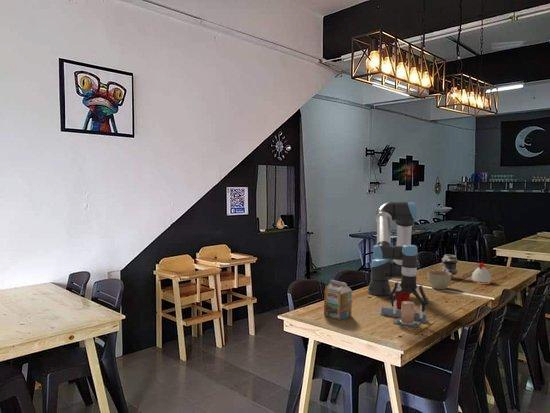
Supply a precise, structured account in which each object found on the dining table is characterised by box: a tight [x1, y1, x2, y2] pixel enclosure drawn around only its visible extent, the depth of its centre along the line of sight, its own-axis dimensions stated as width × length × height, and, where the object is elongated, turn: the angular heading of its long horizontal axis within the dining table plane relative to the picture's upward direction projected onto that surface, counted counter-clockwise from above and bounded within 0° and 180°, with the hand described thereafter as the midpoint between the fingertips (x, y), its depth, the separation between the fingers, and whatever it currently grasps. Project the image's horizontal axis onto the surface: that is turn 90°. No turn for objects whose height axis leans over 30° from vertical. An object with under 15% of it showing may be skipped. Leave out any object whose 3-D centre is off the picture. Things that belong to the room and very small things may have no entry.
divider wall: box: [379, 306, 428, 324], centre depth 230 cm, size 24×4×4 cm, turn 58°
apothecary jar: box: [440, 254, 459, 280], centre depth 333 cm, size 12×12×18 cm
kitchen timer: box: [470, 262, 492, 283], centre depth 320 cm, size 14×14×15 cm
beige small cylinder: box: [400, 300, 416, 324], centre depth 222 cm, size 6×6×10 cm
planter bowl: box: [426, 270, 453, 290], centre depth 300 cm, size 16×16×11 cm
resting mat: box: [392, 317, 423, 329], centre depth 222 cm, size 12×11×1 cm
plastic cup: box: [392, 286, 411, 310], centre depth 248 cm, size 11×11×12 cm
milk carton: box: [323, 279, 353, 321], centre depth 232 cm, size 11×11×19 cm
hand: (407, 315), depth 222 cm, fingers open, 13 cm apart
